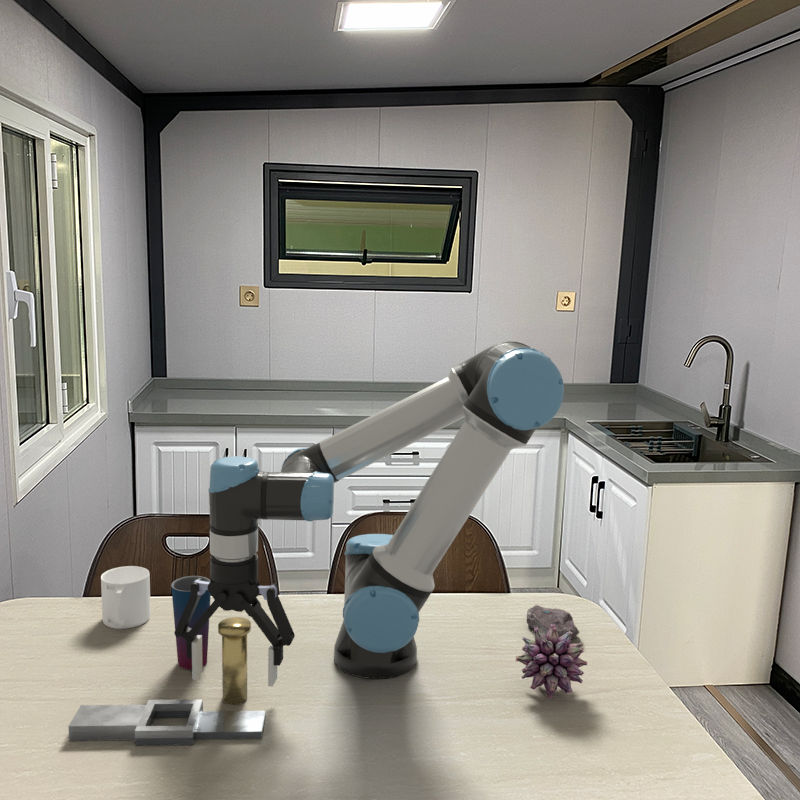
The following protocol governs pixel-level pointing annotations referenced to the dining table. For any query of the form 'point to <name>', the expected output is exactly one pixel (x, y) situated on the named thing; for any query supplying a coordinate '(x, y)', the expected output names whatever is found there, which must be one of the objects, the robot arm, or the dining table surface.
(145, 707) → the grey metal base plate
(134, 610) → the mug
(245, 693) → the pin
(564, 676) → the flower
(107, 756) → the dining table surface
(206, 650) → the cup
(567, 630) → the rock
